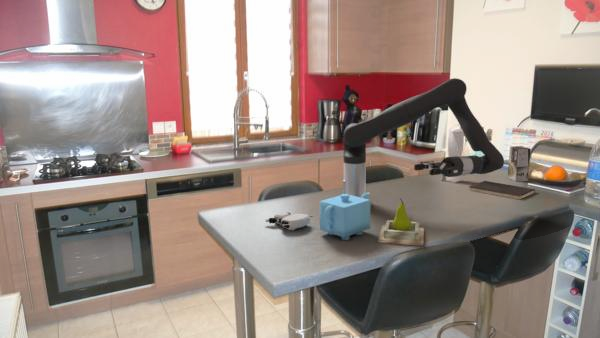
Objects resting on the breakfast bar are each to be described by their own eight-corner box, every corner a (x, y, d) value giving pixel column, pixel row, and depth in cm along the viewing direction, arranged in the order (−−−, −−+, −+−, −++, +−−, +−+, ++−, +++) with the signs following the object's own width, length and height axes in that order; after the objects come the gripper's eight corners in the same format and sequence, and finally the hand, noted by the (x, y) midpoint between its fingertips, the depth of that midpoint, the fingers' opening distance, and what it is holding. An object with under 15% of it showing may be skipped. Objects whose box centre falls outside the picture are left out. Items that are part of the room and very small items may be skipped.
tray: (378, 242, 145) (378, 231, 145) (382, 227, 158) (382, 218, 158) (423, 245, 141) (423, 235, 141) (423, 230, 155) (424, 221, 154)
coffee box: (528, 181, 220) (531, 148, 216) (515, 181, 220) (517, 149, 217) (519, 177, 229) (522, 145, 225) (507, 177, 229) (509, 146, 226)
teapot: (338, 245, 144) (338, 203, 141) (314, 236, 152) (313, 197, 149) (381, 228, 158) (382, 190, 155) (357, 221, 166) (357, 185, 163)
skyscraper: (449, 178, 230) (452, 124, 224) (464, 181, 224) (467, 125, 218) (441, 181, 225) (443, 125, 219) (456, 184, 219) (459, 126, 213)
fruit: (411, 237, 146) (412, 201, 144) (391, 235, 148) (392, 200, 145) (410, 230, 152) (411, 196, 150) (392, 229, 154) (392, 195, 151)
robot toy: (263, 228, 164) (292, 235, 153) (262, 216, 163) (291, 222, 152) (287, 220, 172) (316, 226, 162) (286, 208, 172) (315, 213, 161)
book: (519, 201, 189) (520, 195, 189) (468, 191, 206) (468, 186, 206) (534, 193, 200) (535, 188, 199) (484, 185, 216) (485, 180, 216)
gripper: (444, 153, 174) (410, 156, 167) (472, 159, 161) (436, 163, 155) (443, 172, 175) (409, 175, 169) (470, 180, 163) (434, 184, 156)
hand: (422, 169), depth 162 cm, fingers open, 8 cm apart
